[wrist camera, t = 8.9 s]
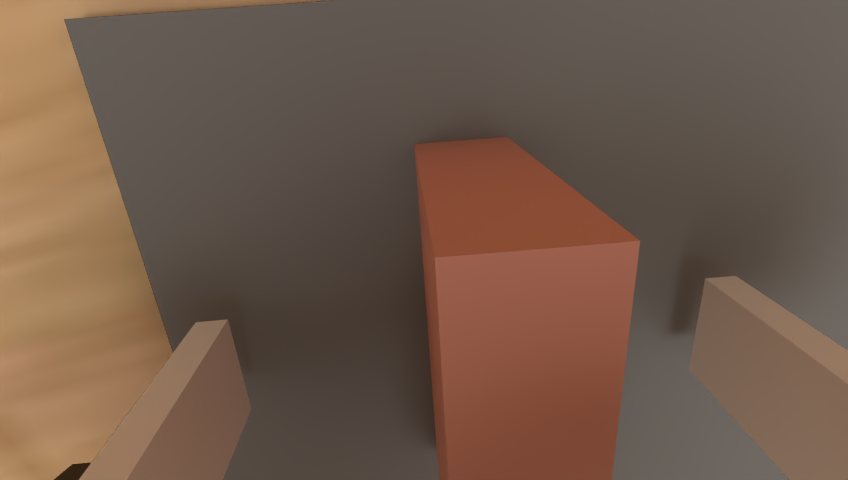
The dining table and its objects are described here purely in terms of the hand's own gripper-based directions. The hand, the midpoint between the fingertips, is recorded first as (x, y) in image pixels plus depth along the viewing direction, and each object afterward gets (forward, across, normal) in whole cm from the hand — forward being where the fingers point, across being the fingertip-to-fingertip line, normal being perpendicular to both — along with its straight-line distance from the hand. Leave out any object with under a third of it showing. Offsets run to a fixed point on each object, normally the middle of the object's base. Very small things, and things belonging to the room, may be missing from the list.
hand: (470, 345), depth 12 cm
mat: (+2, +2, 0) cm, 3 cm away
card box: (+1, 0, 0) cm, 1 cm away
